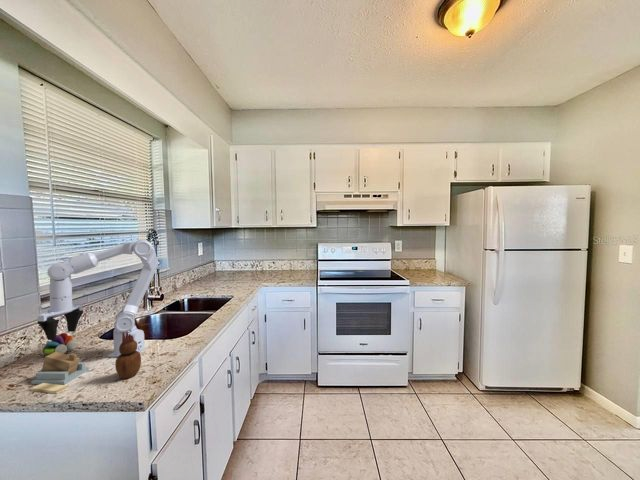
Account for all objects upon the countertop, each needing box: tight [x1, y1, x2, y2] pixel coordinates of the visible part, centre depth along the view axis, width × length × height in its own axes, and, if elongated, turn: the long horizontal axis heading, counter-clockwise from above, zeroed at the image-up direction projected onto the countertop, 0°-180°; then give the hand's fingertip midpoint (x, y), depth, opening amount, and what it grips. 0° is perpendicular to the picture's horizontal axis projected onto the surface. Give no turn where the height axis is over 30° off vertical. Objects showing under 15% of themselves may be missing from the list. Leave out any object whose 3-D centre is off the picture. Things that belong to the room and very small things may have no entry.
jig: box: [31, 361, 90, 385], centre depth 90 cm, size 10×9×3 cm
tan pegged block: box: [41, 352, 80, 376], centre depth 90 cm, size 8×4×6 cm, turn 90°
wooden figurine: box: [114, 332, 142, 379], centre depth 91 cm, size 7×6×15 cm
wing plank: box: [30, 383, 69, 395], centre depth 83 cm, size 9×3×1 cm, turn 81°
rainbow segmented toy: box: [40, 332, 78, 356], centre depth 108 cm, size 8×10×7 cm
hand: (62, 335), depth 98 cm, fingers open, 7 cm apart
